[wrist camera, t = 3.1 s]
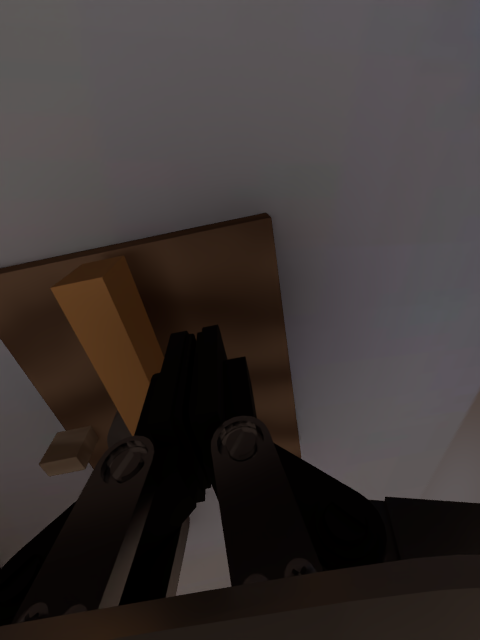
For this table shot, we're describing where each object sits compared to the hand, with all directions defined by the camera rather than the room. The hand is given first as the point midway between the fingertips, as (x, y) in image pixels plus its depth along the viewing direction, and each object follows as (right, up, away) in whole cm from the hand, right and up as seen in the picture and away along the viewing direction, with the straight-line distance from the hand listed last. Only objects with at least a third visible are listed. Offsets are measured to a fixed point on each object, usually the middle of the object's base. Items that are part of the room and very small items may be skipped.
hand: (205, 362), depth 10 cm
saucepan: (-5, -2, +9) cm, 11 cm away
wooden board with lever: (-5, -3, +15) cm, 16 cm away
